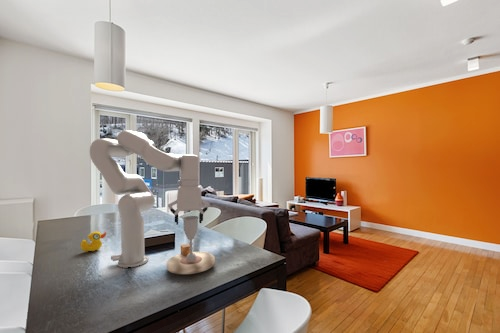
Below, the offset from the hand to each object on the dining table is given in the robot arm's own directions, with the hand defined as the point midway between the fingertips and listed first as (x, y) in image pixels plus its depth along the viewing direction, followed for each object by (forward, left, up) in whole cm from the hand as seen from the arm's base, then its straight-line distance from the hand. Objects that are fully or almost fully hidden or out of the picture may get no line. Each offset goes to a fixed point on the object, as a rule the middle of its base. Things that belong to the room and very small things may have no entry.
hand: (188, 223), depth 103 cm
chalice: (+1, 0, -16) cm, 16 cm away
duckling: (-47, +39, -19) cm, 64 cm away
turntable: (+1, 0, -17) cm, 17 cm away
